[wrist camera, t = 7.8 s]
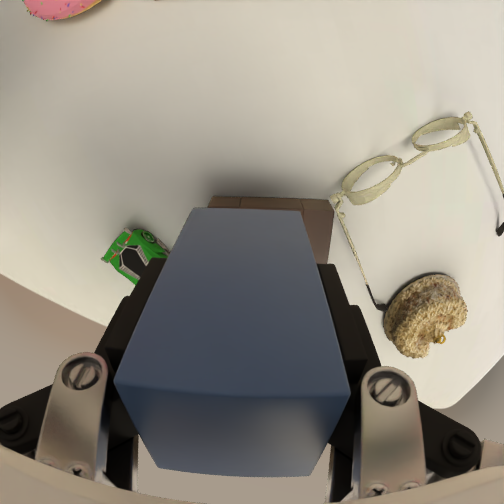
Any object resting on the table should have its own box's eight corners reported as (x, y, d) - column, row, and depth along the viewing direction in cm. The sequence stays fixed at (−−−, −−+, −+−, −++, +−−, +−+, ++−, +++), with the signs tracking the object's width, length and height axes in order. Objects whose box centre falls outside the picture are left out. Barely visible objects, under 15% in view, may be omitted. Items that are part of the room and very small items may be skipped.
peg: (198, 294, 14) (156, 468, 7) (192, 207, 12) (111, 381, 5) (290, 297, 14) (310, 476, 7) (300, 210, 12) (352, 394, 5)
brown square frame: (216, 291, 30) (212, 308, 28) (212, 196, 26) (207, 206, 24) (315, 294, 30) (319, 310, 28) (328, 199, 26) (334, 210, 23)
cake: (363, 324, 32) (374, 360, 27) (425, 255, 28) (448, 285, 23) (417, 352, 34) (430, 383, 29) (472, 294, 30) (494, 323, 25)
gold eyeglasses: (463, 101, 20) (497, 108, 16) (502, 231, 26) (528, 253, 22) (309, 195, 25) (319, 218, 21) (379, 312, 31) (394, 344, 27)
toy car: (215, 286, 30) (211, 301, 28) (184, 312, 32) (180, 326, 30) (134, 216, 27) (125, 227, 25) (108, 248, 28) (98, 260, 26)
